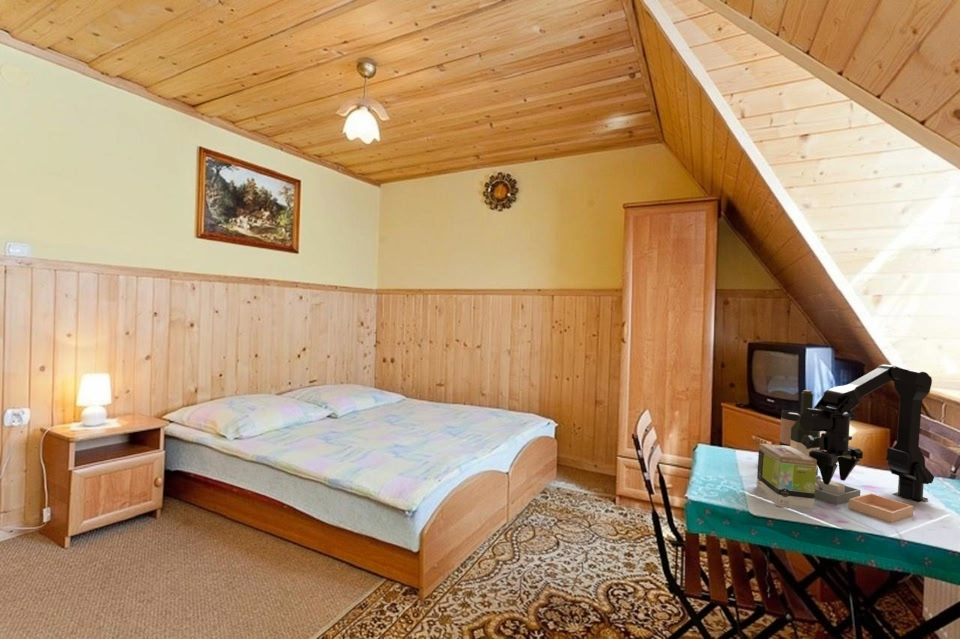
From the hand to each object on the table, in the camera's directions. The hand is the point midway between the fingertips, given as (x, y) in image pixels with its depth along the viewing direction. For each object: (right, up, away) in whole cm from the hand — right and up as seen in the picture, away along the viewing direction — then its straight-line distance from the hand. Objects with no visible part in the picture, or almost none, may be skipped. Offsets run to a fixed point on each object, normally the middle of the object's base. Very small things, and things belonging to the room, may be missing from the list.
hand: (834, 482), depth 141 cm
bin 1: (-3, -5, +6) cm, 8 cm away
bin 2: (+5, -5, -10) cm, 12 cm away
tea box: (-17, -5, -2) cm, 18 cm away
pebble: (-5, -4, +3) cm, 7 cm away
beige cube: (0, -4, 0) cm, 4 cm away
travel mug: (+7, -5, +30) cm, 31 cm away
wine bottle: (+3, -5, +18) cm, 19 cm away
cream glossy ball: (0, -4, +5) cm, 7 cm away
